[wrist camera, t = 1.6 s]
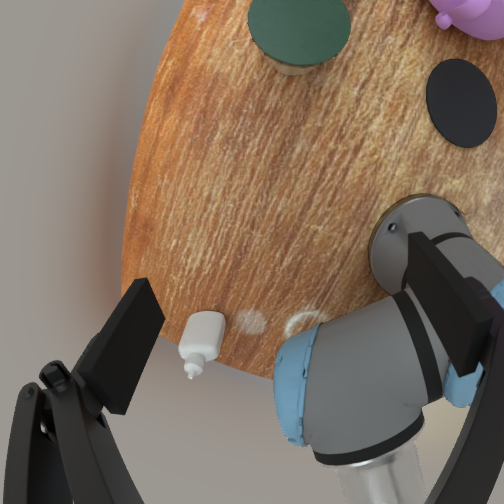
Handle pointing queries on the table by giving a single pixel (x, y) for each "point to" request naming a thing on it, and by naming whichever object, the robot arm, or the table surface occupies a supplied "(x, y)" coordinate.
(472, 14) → the teapot
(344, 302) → the table surface
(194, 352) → the eye dropper bottle
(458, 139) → the coaster
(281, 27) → the jar lid
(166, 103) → the table surface
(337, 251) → the table surface
